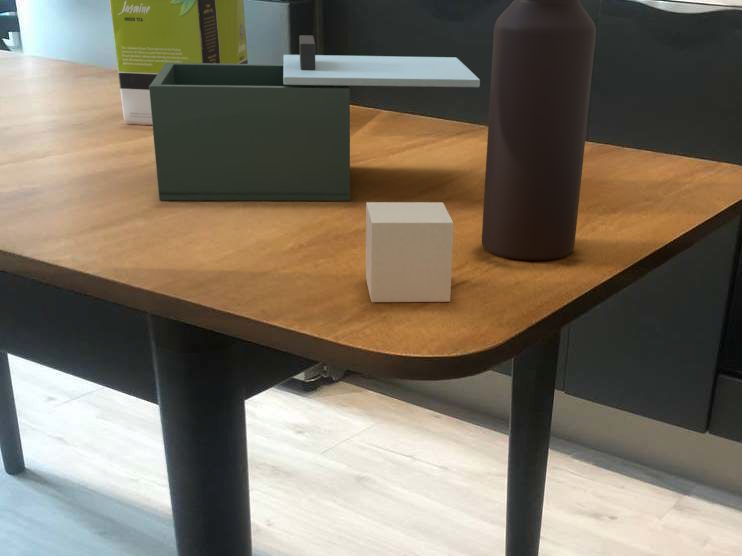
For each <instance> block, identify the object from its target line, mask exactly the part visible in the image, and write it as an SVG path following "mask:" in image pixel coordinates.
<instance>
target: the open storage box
mask: <svg viewBox="0 0 742 556" xmlns="http://www.w3.org/2000/svg"><path fill="white" fill-rule="evenodd" d="M283 64H284V63H282V64H281V63H280V64H279V63H277V64H276V63H248V64H223V63H165V65H164V66H163V68H162V69H161V70H160V72H159V73H158V75H157V76H156V77H155V79H154V80H153V82H152V83H151V85H150V86H149V91H150V103H151V114H152V125H151V126H152V134H153V135H152V136H153V146H154V157H155V168H156V179H157V189H158V199H159V200H158V201H166V202H167V201H171V202H173V201H175V202H176V201H177V202H178V201H179V202H180V201H181V202H183V201H190V202H192V201H193V202H194V201H199V202H200V201H203V202H204V201H205V202H206V201H207V202H208V201H209V202H213V201H215V202H216V201H218V202H226V201H227V202H233V201H234V202H241V201H242V202H244V201H245V202H249V201H250V202H256V201H257V202H292V201H293V202H300V201H301V202H312V201H313V202H350V201H351V88H350V86H341V85H284V79H283Z"/></svg>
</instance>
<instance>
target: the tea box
mask: <svg viewBox="0 0 742 556" xmlns="http://www.w3.org/2000/svg"><path fill="white" fill-rule="evenodd" d="M108 1H109V9H110V15H111V22H112V34H113V35H112V36H113V41H114V49H115V55H116V68H117V75H118V82H119V90H120V91H119V92H120V99H121V101H120V102H121V108H122V115H123V121H124V123H126V124H127V125H139V126H153V125H152V114H151V103H150V91H149V86H150V85H151V83H152V82H153V80H154V79H155V77H156V76H157V75H158V73H159V72H160V70H161V69H162V68H163V66H164V65H165V63H223V64H249V62H248V61H249V60H248V47H247V45H248V43H247V32H246V19H245V5H244V3H245V2H244V0H108Z"/></svg>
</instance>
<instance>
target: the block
mask: <svg viewBox="0 0 742 556" xmlns="http://www.w3.org/2000/svg"><path fill="white" fill-rule="evenodd" d="M454 225H455V223H454V221H453V219H452V217H451V215H450V212H449V211H448V209H447V207H446V205H445V203H444V202H440V201H439V202H438V201H437V202H436V201H435V202H433V201H432V202H431V201H429V202H425V201H424V202H423V201H422V202H419V201H415V202H412V201H410V202H405V201H404V202H403V201H401V202H400V201H399V202H398V201H397V202H395V201H394V202H393V201H392V202H391V201H389V202H388V201H387V202H386V201H384V202H382V201H381V202H380V201H379V202H377V201H375V202H374V201H369V202H368V201H367V202H366V203H365V279H366V280H365V281H366V285H367V290H368V294H369V298H370V303H448V302H449V303H451V292H452V291H451V289H452V269H453V268H452V267H453V246H454Z"/></svg>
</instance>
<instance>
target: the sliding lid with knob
mask: <svg viewBox="0 0 742 556" xmlns="http://www.w3.org/2000/svg"><path fill="white" fill-rule="evenodd" d="M298 40H299V41H298V43H299V45H298V47H299V54H283V63H282V64H283V79H284V85H341V86H349V87H351V86H353V87H356V86H357V87H419V88H420V87H423V88H424V87H426V88H428V87H429V88H433V87H435V88H480V87H481V86H480V85H481V79H480V78H479V77H478V76H477V75H476V74H475V73H474V72H472V70H470V68H468V67H467V66H466V65H465V64H464V63H463V62H462V61H461V60H460V59H459V58H458V57H454V56H453V57H451V56H448V57H447V56H398V55H397V56H394V55H393V56H391V55H388V56H387V55H385V56H384V55H333V54H332V55H329V54H328V55H325V54H324V55H323V54H316V42H315V37H314V35H311V34H309V35H308V34H306V35H304V34H303V35H301V34H300V35H299V36H298Z"/></svg>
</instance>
